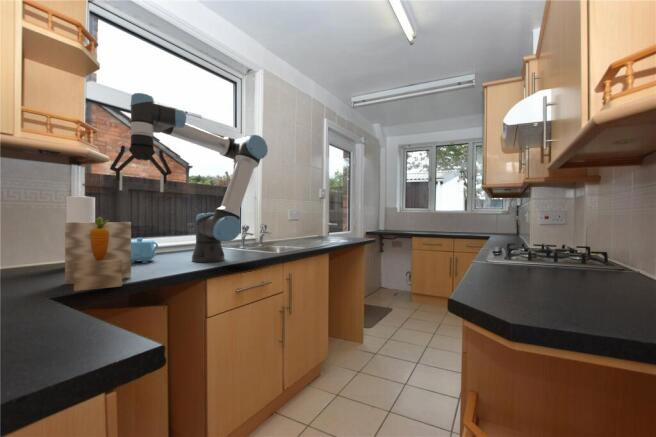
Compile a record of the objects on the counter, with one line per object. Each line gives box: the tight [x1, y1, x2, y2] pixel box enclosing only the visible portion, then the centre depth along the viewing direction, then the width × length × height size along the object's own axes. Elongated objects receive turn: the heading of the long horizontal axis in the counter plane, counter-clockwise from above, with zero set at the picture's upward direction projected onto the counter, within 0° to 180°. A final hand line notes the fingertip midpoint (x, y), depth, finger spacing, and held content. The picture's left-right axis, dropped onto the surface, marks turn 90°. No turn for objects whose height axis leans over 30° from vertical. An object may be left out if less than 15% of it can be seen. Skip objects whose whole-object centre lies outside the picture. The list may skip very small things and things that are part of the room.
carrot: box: [90, 216, 110, 261], centre depth 101 cm, size 5×5×15 cm
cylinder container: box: [66, 195, 96, 222], centre depth 132 cm, size 9×9×30 cm
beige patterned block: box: [64, 221, 132, 292], centre depth 102 cm, size 18×14×20 cm
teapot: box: [131, 237, 159, 265], centre depth 146 cm, size 16×18×11 cm
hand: (142, 191), depth 120 cm, fingers open, 13 cm apart
